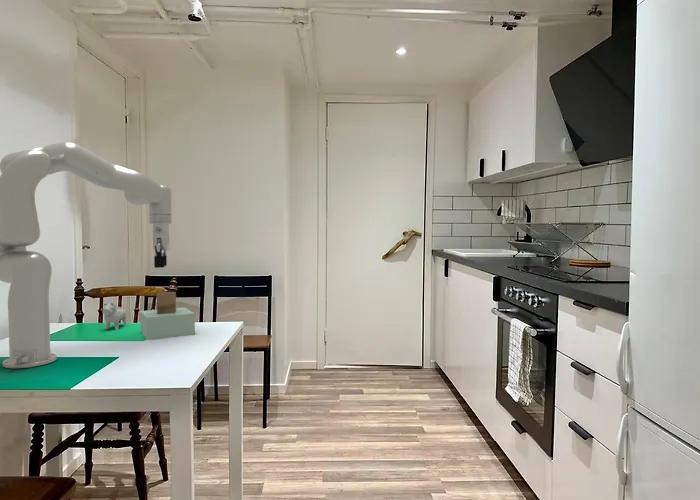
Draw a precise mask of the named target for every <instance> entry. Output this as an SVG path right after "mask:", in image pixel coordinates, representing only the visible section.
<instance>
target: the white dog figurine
mask: <svg viewBox="0 0 700 500" xmlns="http://www.w3.org/2000/svg"><path fill="white" fill-rule="evenodd" d="M101 311H102V314H104V316H103V319H104V321H105V327H104V330H105V329H108V330H110V329H109V328H110V326H111V323H113V326H114V325H115V326H114V330H115V329H117V330H119V327H120V321H122V323H123V326H124V325H127V315H128V314H127V311H126V310H125V309H123V308H122V307H121V306H118V307H117V304H115V302H114V301H113V302H112V301H111V302H109V303H108V302H104V303H103V307H102V309H101Z"/></svg>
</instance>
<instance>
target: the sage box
mask: <svg viewBox="0 0 700 500" xmlns="http://www.w3.org/2000/svg"><path fill="white" fill-rule="evenodd" d="M139 312H140V313H139V314H140V319H139V320H140V333H141V332H142V333H141V334H142V335H143V337H144V338H145V339H146V340H147V341H149V340H156V339H157V340H159V339H165V338H174V337H175V338H177V337H184V336H193V335H196V332H195V331H196V328H195V327H196V321H195V320H196V319H195V318H196V315H195V312H193V311H191V310H190V309H188V308H187V307H185V306H184V307H176V312H175V313H168V314H157V309H152V310H151V309H150V310H140V311H139Z"/></svg>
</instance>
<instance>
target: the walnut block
mask: <svg viewBox="0 0 700 500" xmlns="http://www.w3.org/2000/svg"><path fill="white" fill-rule="evenodd" d="M176 308H177V294H176V291H168V292H158V293H157V294H156V310H157V314H168V313H175V312H176Z"/></svg>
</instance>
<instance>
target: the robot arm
mask: <svg viewBox="0 0 700 500" xmlns="http://www.w3.org/2000/svg"><path fill="white" fill-rule="evenodd" d="M0 172H1V174H0V281H1V282H3V283H7V284H10V286H9V289H8V297H7V314H8V315H7V316H8V321H7V322H8V348H9V349H8V352H9V353H8V354H9V358H6V359H4V360H2V367H3V368H6V369H25V368H27V369H28V368H34V367H40V366H43V365H48V364H50V363H53V362H55V361H56V360H57V359H58V357H57V356H58V355H57V354H56V353H52V352H51V332H50V331H51V329H50V328H51V325H50V284H51V278H52V271H53V270H52V265H51V262H50V260H49V259H48V258H47V257H46V256H45V255H44V254H42V253H40V252H37V251H31V250H27V247H29V246H31V245H34V244H35V243H37V241H38V240H39V239H40V236H41V229H40V224H39V216H38V211H37V205H36V197H35V195H36V190H37V186H38V185H39V183H40V182H41V181H42V180H43V179H44V178H46V177H47V176H48V175H52V174H56V173H60V172H68V173H71V174H73V175H75V176H77V177H79V178H81V179H83V180H86V181H87V182H89V183H91V184H94V185H96V187H97V186H98V187H102V188H105V189H112V190H120V191H123V196H124V198H125V200H126V201H127V202H128V203H130V204H132V205H138V206H139V205H142V206H143V205H148V214H149V215H148V220H149V221H148V224H151V225H152V248H153V251H154V257H153V258H154V259H153V260H154V263H153V265H154V268H158V269H159V268H162V269H163V268H165V267H167V263H168V262H167V257H168V256H167V252H168V251H169V250H170V249H171V248H170V226H169V225H172V189H171V187H170V186H169V185H162V184H159V182H158V181H156V180H154V179H152V178H151V177H148V176H147V175H145V174H143V173H140V172H138V171H136V170H133V169H130V168H127V167H124V166H122V165H118V164H115V163H112V162H110V161H108V160H106V159H105V158H103V157H101V156H99V155H98V154H97V153H95V152H92V151H90V150H89V149H86V148H85V147H83V146H81V145H79V144H77V143H75V142H72V141H71V142H70V141H64V142H56V143H52V144H48V145H44V146H39V147H36V148H31V149H26V150H25V149H24V150H22V151H21V150H20V151H17V152H16V151H15V152H10V153H8V154H6V155H4V156H3V157H2V158H1V160H0Z"/></svg>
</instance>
